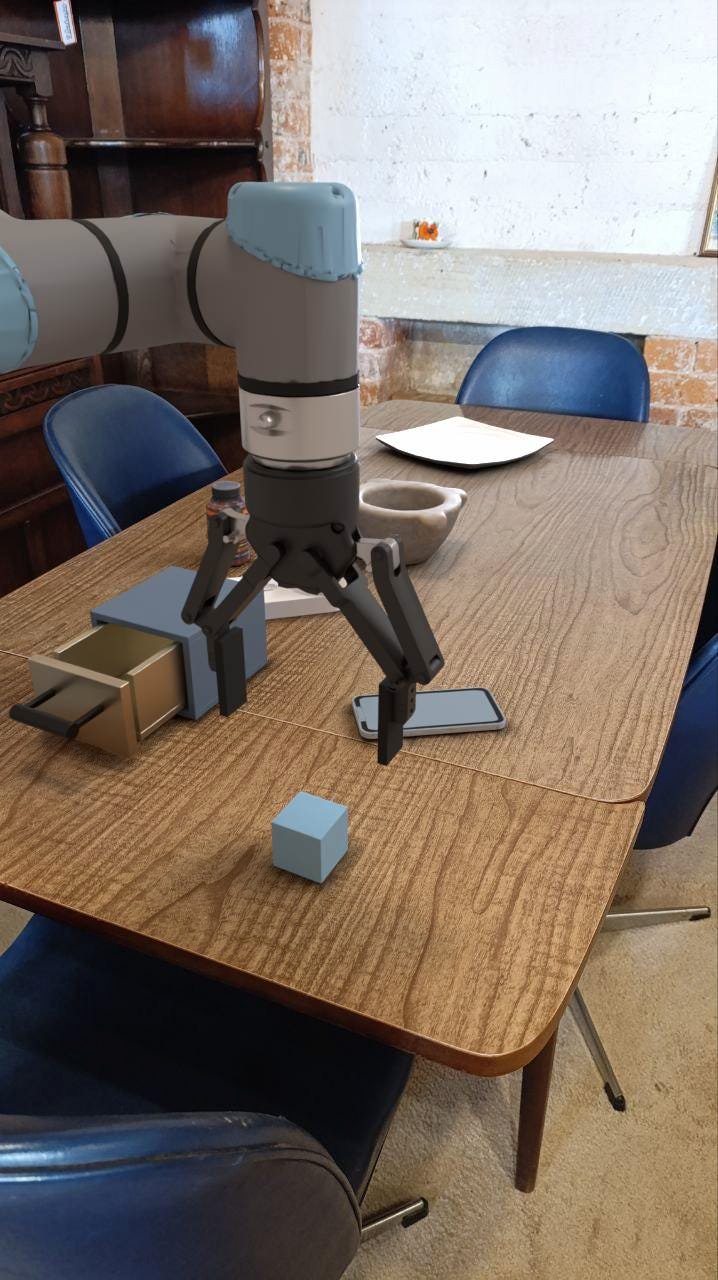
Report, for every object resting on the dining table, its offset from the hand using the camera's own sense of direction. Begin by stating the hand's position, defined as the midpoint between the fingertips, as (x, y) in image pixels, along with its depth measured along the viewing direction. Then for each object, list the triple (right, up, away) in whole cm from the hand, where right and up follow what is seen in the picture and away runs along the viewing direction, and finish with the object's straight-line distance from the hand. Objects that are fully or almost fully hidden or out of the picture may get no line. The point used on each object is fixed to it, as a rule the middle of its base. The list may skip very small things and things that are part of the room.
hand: (308, 731), depth 66 cm
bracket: (-7, +12, +49) cm, 50 cm away
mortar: (+10, +20, +64) cm, 68 cm away
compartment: (-15, +3, +32) cm, 35 cm away
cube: (0, -11, +6) cm, 12 cm away
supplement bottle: (-15, +18, +61) cm, 66 cm away
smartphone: (+11, -1, +25) cm, 27 cm away
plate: (+25, +45, +113) cm, 124 cm away
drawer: (-21, -2, +22) cm, 30 cm away
